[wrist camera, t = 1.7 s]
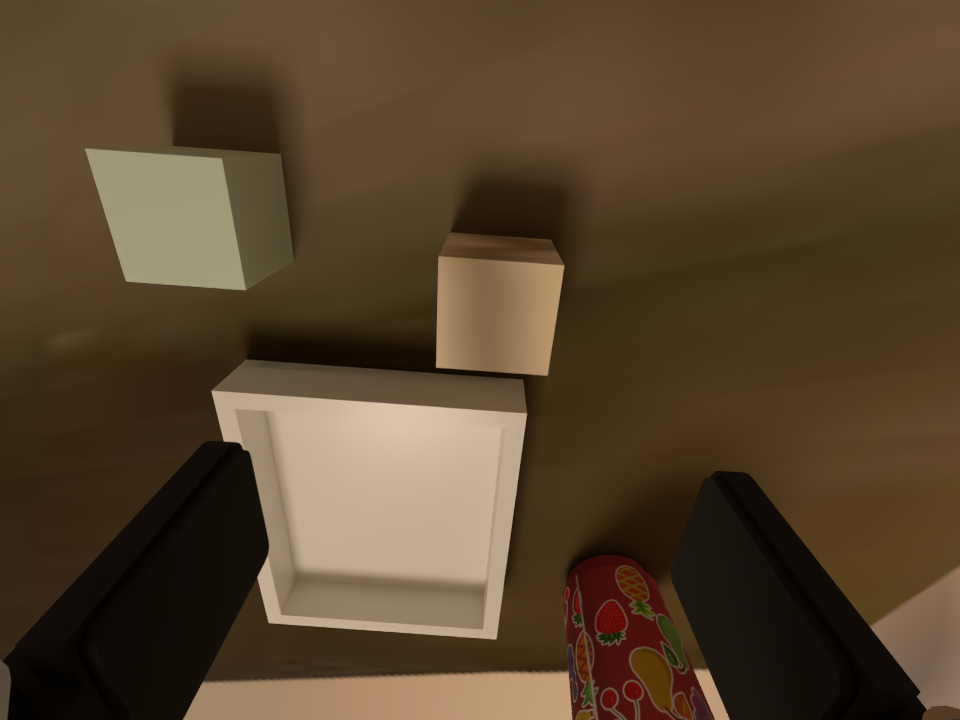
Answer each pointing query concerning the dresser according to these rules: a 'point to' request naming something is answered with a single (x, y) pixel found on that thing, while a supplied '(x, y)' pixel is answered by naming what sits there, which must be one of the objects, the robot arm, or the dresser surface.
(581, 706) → the smoothie
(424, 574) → the tray
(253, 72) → the dresser surface
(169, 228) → the sage block
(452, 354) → the maple block
